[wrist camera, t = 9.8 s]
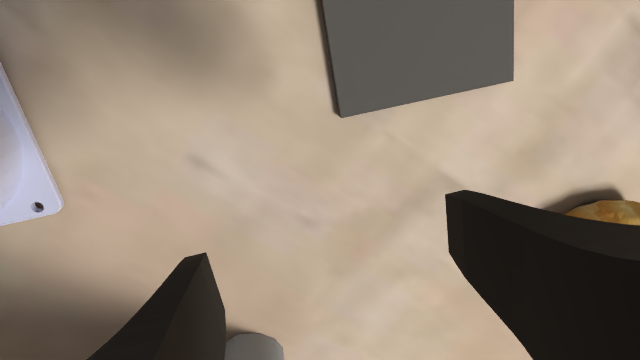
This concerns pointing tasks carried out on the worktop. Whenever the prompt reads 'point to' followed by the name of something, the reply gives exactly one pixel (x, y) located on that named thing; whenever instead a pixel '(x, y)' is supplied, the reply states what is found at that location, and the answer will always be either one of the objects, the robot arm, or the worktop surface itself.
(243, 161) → the worktop surface
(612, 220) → the pastry
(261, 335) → the flask
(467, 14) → the mat
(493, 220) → the robot arm
